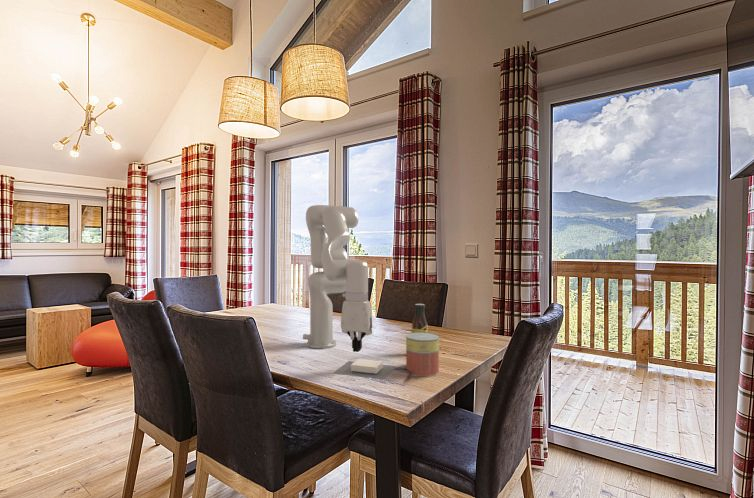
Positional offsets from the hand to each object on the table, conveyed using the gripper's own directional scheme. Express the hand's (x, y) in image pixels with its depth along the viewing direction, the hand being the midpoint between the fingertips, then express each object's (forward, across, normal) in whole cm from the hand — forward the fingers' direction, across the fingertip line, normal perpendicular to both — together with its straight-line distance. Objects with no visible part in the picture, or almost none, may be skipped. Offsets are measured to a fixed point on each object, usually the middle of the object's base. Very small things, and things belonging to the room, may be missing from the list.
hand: (356, 350), depth 131 cm
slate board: (+7, +3, 0) cm, 8 cm away
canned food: (+7, +21, +8) cm, 24 cm away
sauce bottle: (+7, +16, +27) cm, 32 cm away
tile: (+5, -1, 0) cm, 5 cm away
